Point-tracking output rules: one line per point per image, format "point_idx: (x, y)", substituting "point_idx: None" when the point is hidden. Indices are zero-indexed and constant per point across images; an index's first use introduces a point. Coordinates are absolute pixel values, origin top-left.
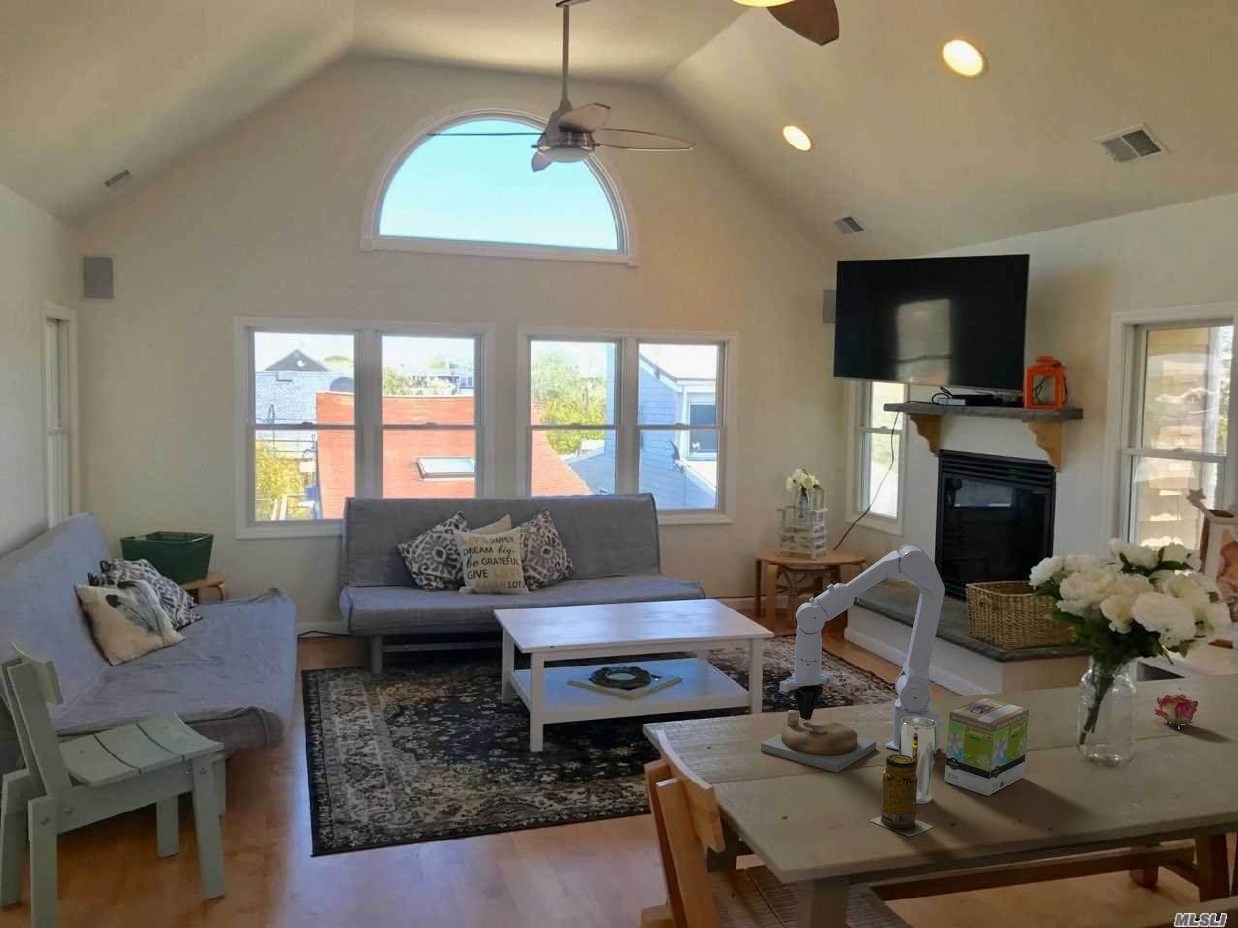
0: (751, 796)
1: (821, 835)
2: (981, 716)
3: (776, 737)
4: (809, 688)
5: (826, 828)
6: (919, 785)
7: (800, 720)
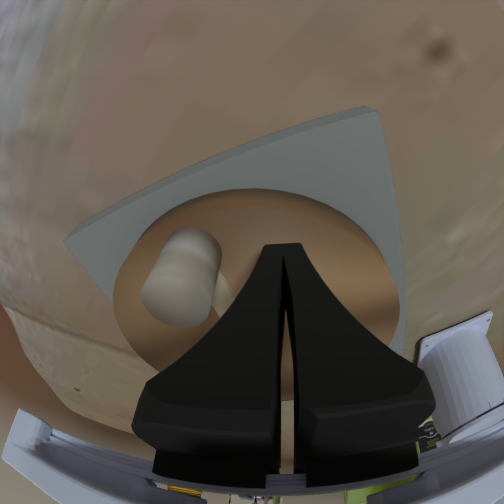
0: (43, 351)
1: (105, 413)
2: None
3: (125, 220)
4: (276, 473)
5: (113, 413)
6: None
7: (281, 216)
